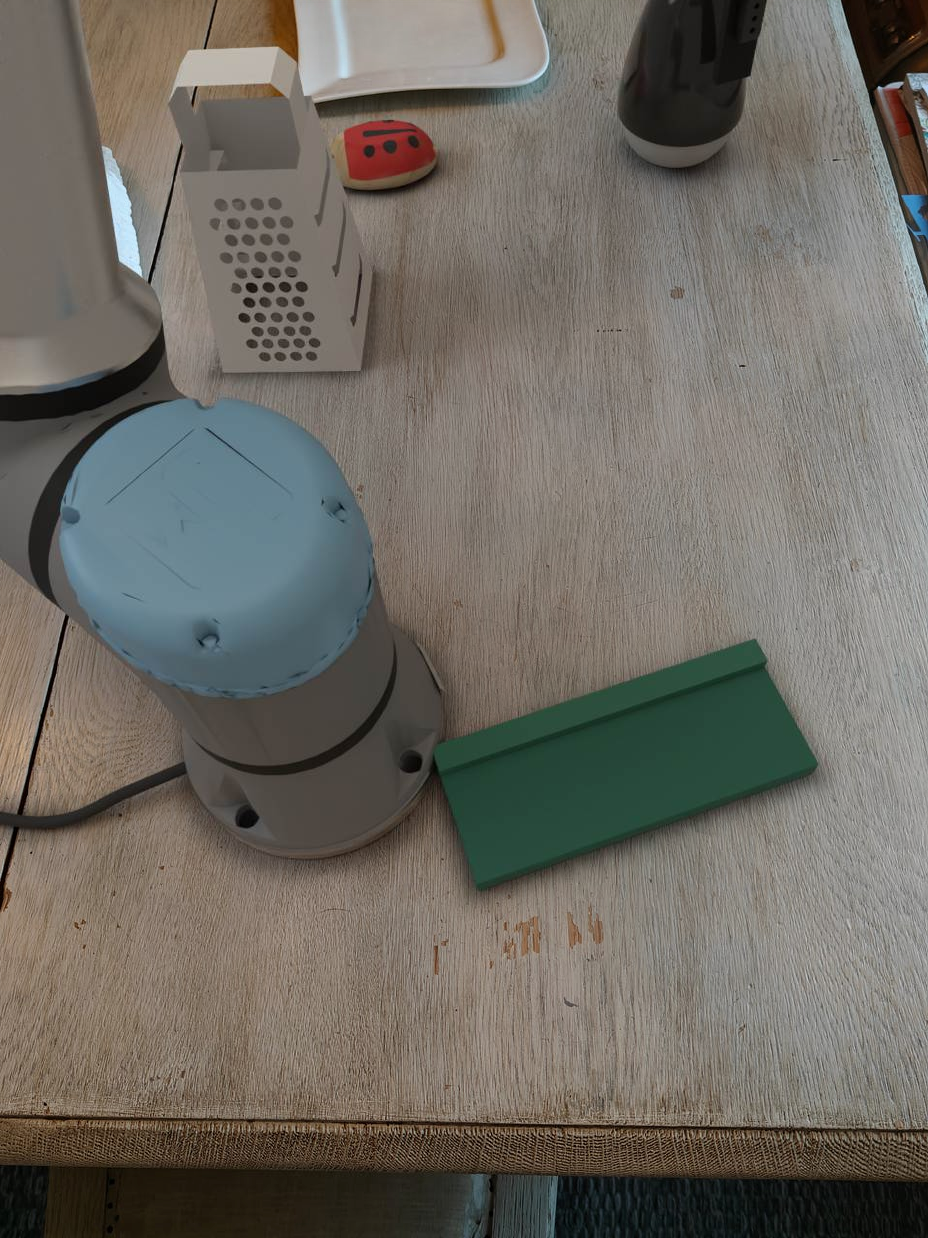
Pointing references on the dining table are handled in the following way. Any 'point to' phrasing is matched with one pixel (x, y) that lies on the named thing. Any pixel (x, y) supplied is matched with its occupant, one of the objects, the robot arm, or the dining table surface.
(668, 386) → the dining table surface
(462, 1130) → the dining table surface
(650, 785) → the green ledged plate
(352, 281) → the grater
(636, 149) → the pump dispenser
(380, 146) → the ladybug figurine
